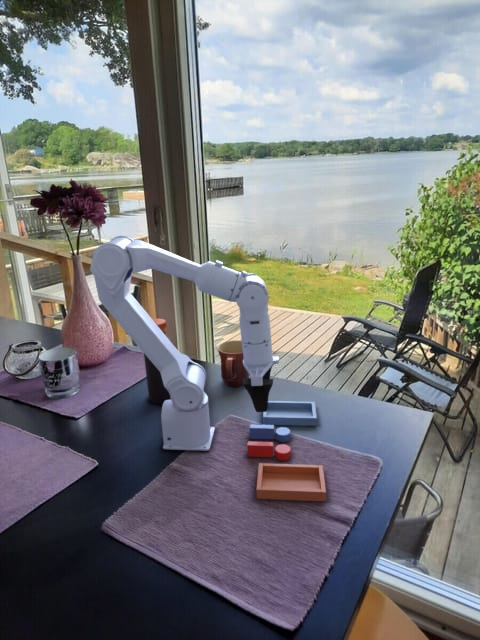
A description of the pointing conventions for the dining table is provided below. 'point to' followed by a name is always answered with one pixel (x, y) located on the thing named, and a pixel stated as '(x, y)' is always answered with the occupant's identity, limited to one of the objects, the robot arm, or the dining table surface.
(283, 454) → the red spoon
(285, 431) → the blue spoon
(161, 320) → the bottle
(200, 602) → the dining table surface
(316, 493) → the terracotta tray
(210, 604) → the dining table surface
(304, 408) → the blue tray
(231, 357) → the mug
